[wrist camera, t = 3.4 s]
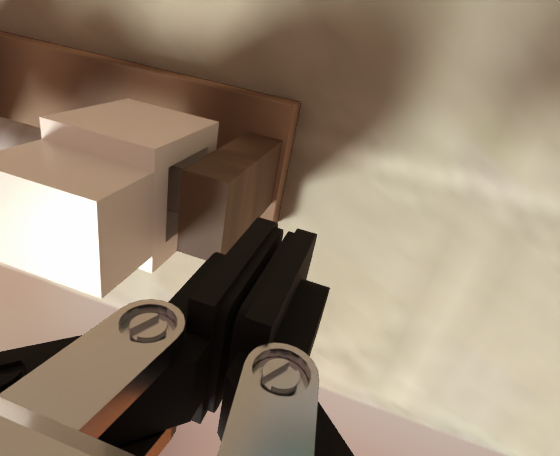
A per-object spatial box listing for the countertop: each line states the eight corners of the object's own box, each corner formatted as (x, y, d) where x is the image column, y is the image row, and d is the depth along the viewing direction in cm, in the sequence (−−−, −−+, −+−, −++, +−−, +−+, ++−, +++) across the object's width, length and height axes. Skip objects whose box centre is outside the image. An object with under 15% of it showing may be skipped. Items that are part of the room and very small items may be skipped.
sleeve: (219, 121, 15) (94, 174, 9) (209, 221, 17) (102, 317, 11) (127, 98, 16) (-42, 133, 10) (129, 197, 18) (-12, 275, 12)
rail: (300, 102, 17) (237, 138, 11) (277, 222, 20) (216, 306, 14) (-34, 23, 21) (-232, 15, 14) (-14, 136, 23) (-171, 171, 17)
